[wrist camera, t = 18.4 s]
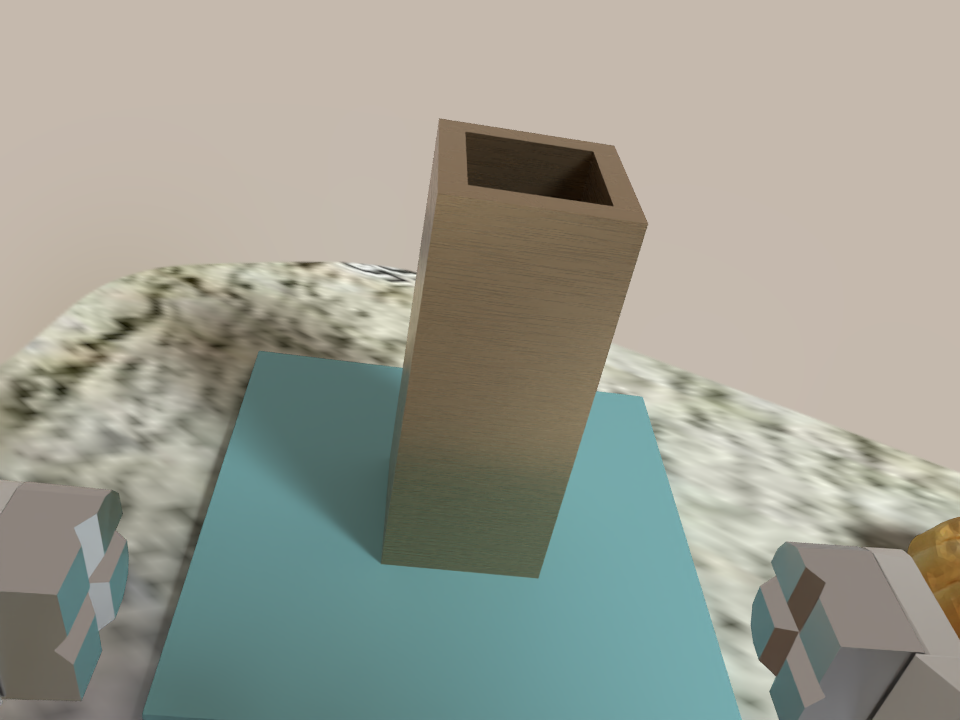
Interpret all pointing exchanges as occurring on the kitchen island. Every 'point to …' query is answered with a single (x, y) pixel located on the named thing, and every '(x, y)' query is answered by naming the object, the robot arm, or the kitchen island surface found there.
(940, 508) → the kitchen island surface
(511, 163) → the bronze sleeve
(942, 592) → the pastry
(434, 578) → the teal hub plate
